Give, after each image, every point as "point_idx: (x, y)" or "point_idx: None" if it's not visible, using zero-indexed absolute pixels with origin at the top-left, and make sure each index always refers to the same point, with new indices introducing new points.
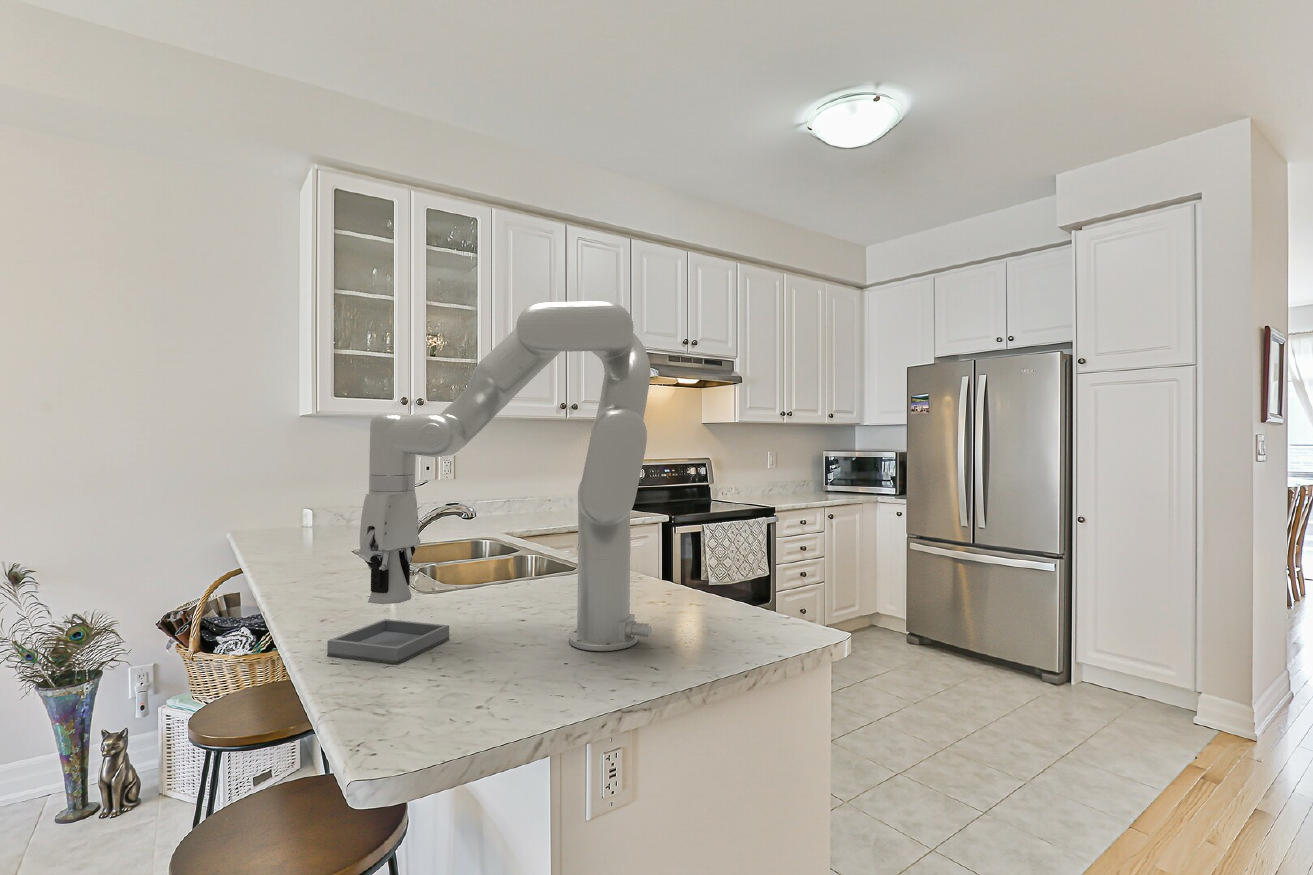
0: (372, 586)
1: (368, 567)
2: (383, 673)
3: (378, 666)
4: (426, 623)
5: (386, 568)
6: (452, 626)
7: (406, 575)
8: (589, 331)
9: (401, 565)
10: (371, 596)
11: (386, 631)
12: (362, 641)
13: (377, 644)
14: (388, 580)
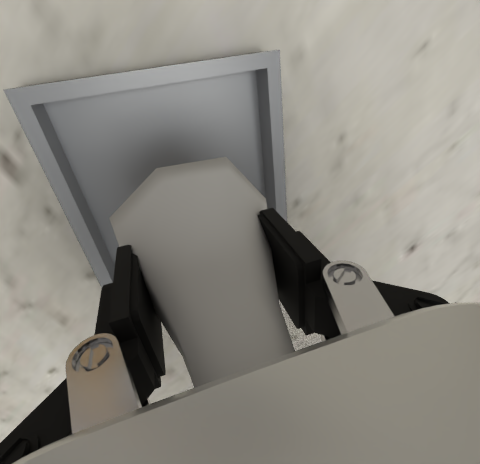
0: (104, 287)
1: (69, 357)
2: (64, 300)
3: (80, 262)
4: (283, 200)
5: (180, 351)
6: (355, 169)
7: (278, 295)
8: None
9: (297, 306)
10: (119, 238)
11: (253, 73)
12: (153, 92)
13: (159, 156)
14: (161, 334)
